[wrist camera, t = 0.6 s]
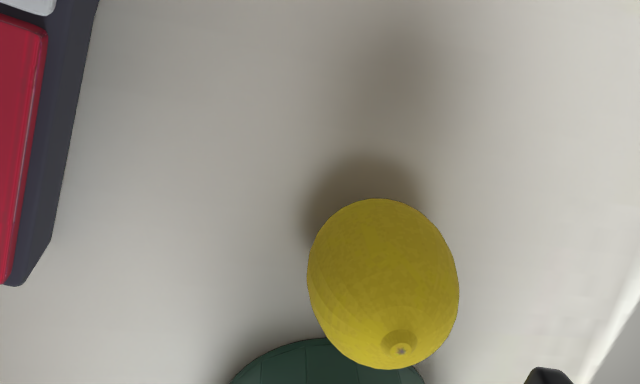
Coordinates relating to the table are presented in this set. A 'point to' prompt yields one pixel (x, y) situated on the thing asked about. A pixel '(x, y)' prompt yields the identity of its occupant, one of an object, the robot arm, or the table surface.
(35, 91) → the calculator
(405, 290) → the lemon
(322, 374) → the pot
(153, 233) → the table surface
